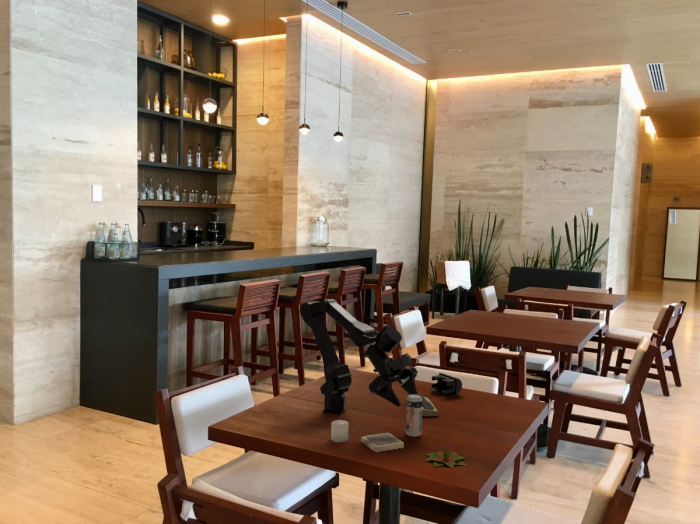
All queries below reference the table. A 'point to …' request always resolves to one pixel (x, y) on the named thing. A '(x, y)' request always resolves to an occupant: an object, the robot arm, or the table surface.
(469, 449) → the table surface
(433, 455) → the lily flower
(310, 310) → the robot arm
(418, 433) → the beer can
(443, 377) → the end cap
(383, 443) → the stand
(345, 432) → the white rounded cylinder
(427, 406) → the computer
